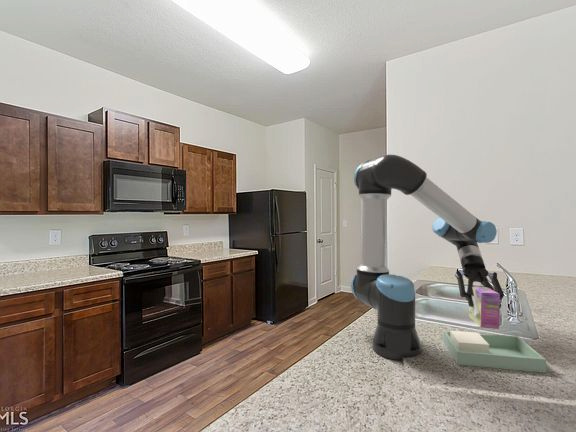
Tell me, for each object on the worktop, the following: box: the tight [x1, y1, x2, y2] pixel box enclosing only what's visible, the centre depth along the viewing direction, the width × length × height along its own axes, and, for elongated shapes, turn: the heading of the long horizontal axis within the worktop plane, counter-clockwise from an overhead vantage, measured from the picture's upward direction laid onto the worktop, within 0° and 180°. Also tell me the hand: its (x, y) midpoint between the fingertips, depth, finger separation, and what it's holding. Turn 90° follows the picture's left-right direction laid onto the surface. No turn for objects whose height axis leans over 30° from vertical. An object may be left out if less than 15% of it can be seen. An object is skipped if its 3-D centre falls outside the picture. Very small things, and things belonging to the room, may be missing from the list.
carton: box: [449, 330, 489, 353], centre depth 92 cm, size 8×9×5 cm
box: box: [468, 285, 501, 330], centre depth 104 cm, size 10×6×12 cm, turn 168°
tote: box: [442, 330, 547, 374], centre depth 91 cm, size 22×16×4 cm
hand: (487, 315), depth 100 cm, fingers closed on box, 6 cm apart
